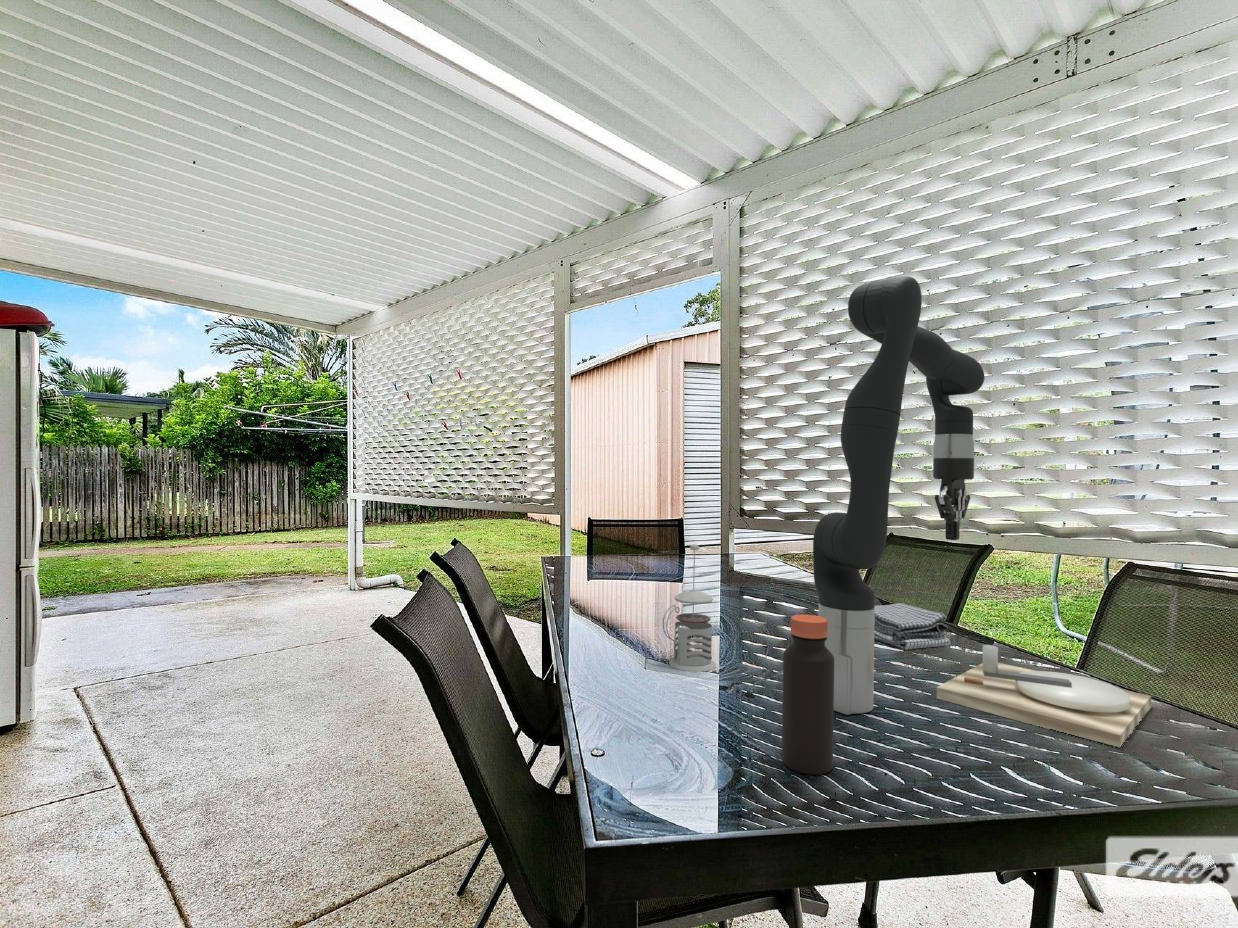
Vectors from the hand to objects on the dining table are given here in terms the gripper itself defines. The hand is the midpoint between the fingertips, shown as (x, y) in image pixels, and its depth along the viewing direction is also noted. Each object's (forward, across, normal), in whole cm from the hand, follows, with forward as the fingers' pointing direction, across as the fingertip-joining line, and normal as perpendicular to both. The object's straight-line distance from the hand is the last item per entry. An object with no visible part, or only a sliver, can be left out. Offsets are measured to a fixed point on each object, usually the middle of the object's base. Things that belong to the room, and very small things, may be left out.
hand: (952, 539), depth 128 cm
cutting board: (+27, -7, -18) cm, 33 cm away
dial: (+24, -9, -20) cm, 33 cm away
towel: (+28, +16, +18) cm, 37 cm away
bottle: (+27, -61, -4) cm, 67 cm away
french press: (+27, -41, +36) cm, 61 cm away
